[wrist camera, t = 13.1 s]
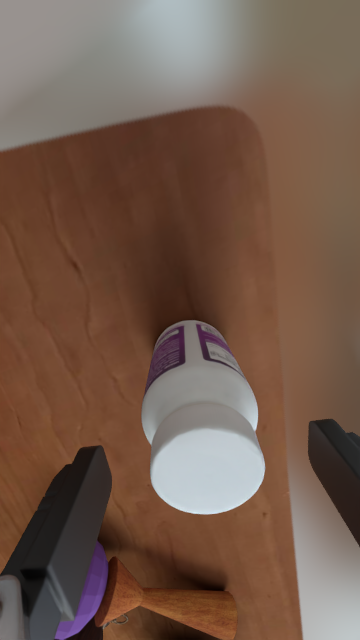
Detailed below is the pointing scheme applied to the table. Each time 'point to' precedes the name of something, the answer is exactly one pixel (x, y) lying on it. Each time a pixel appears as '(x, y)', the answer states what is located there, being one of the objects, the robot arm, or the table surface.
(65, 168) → the table surface
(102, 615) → the kendama
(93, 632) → the compass
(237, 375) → the pill bottle
